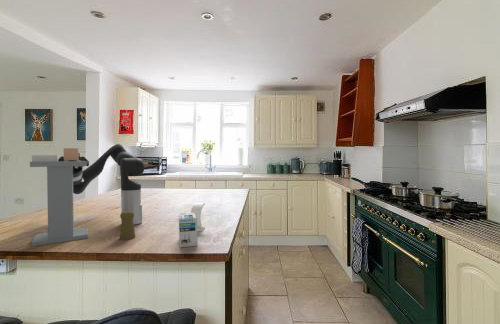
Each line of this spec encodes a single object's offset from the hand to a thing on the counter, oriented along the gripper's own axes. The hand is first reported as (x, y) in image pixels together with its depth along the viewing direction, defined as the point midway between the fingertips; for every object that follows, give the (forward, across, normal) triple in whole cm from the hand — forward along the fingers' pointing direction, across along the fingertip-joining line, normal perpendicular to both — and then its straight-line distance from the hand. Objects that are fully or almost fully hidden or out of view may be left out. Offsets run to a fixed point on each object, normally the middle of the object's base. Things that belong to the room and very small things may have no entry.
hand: (72, 153), depth 117 cm
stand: (-9, +4, -36) cm, 37 cm away
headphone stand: (+9, -48, -46) cm, 67 cm away
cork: (+4, -19, -44) cm, 48 cm away
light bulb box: (+22, -38, -54) cm, 70 cm away
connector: (+2, 0, -5) cm, 5 cm away
